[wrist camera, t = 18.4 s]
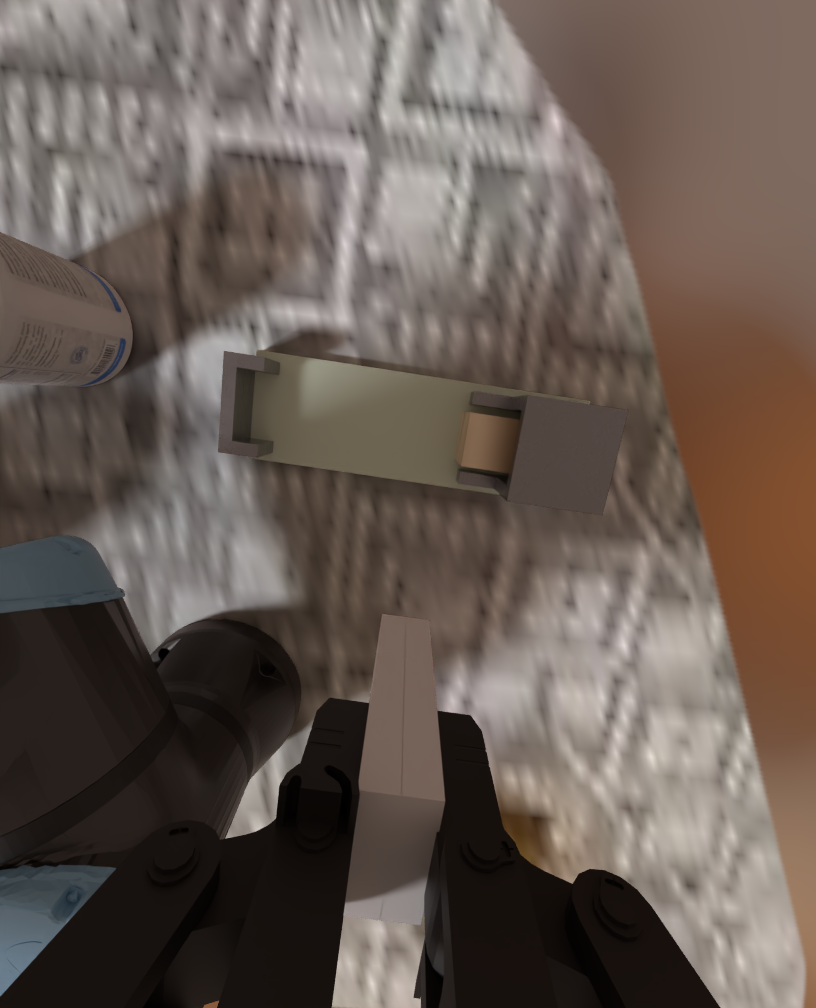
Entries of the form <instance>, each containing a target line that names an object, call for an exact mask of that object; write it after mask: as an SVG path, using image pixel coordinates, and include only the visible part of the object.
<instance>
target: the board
mask: <svg viewBox="0 0 816 1008" xmlns="http://www.w3.org/2000/svg"><path fill="white" fill-rule="evenodd" d="M256 356H260V357H265V358H268V359H271V360H274V361H277V362H279V363H280V372H279V375H274V374H268V373H261V372H255V382H254V395H253V409H252V423H251V437H250V438H255V439H262V440H269V441H274V444H273V453H271V454H267V455H264V456H261V457H258V458H255V457H249V458H253V459H259V460H266V461H273V462H280V463H286V464H293V465H300V466H307V467H314V468H320V469H327V470H334V471H341V472H347V473H354V474H361V475H368V476H375V477H381V478H388V479H395V480H402V481H409V482H415V483H422V484H429V485H436V486H442V487H449V488H456V489H463V490H470V491H476V492H483V493H490V494H497V495H500V494H499V493H498V492H497V491H496V490H495V489H491V488H484V487H478V486H471V485H464V484H458V482H457V481H456V477H457V471H458V469H464V470H471V471H478V472H484V473H491V474H498V475H504V476H509V473H504V472H498V471H491V470H484V469H477V468H470V467H464V466H461V465H460V464H459V463H458V462H457V461H456V460H455V454H456V448H457V442H458V436H459V430H460V424H461V418H462V412H471V413H478V414H485V415H491V416H498V417H505V418H511V419H518V420H520V415H521V412H517V411H511V410H504V409H497V408H491V407H484V406H478V405H471V404H469V401H470V396H471V392H473V391H477V392H484V393H490V394H497V395H503V396H510V397H514V396H522V395H533V396H539V397H546V398H553V399H559V400H566V401H572V402H579V403H585V404H590V401H588V400H581V399H575V398H568V397H562V396H555V395H549V394H542V393H536V392H529V391H523V390H516V389H510V388H503V387H497V386H490V385H484V384H477V383H471V382H464V381H457V380H451V379H444V378H438V377H431V376H425V375H418V374H412V373H405V372H399V371H392V370H386V369H379V368H373V367H366V366H360V365H353V364H347V363H340V362H334V361H327V360H321V359H314V358H308V357H301V356H295V355H288V354H282V353H275V352H269V351H262V350H257V354H256Z"/></svg>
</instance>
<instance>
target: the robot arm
mask: <svg viewBox="0 0 816 1008" xmlns="http://www.w3.org/2000/svg"><path fill="white" fill-rule="evenodd" d="M124 596H125V593H124V590H123V589H121V588H118V587H117V585H116V584H115V582H114V580H113V578H112V576H111V574H110V573H109V571H108V569H107V567H106V565H105V563H104V562H103V560H102V558H101V556H100V554H99V552H98V551H97V550H96V548H95V547H94V546H93V545H92V544H91V543H89V542H88V541H86V540H84V539H82V538H79V537H75V536H69V535H59V536H52V537H47V538H42V539H38V540H33V541H29V542H24V543H19V544H15V545H10V546H6V547H1V548H0V1008H203V1007H204V1005H206V1004H209V1003H212V1002H215V1001H218V1000H219V1003H218V1006H217V1008H331V1007H332V1000H333V992H334V984H335V977H336V969H337V961H338V954H339V946H340V938H341V931H342V923H343V916H349V917H357V918H365V919H373V920H381V921H390V922H398V923H406V924H414V925H421V921H422V916H423V911H424V912H425V940H424V945H423V950H422V955H421V960H420V965H419V970H418V974H417V979H416V986H415V992H414V998H419V999H420V997H421V1008H720V1007H719V1005H718V1004H717V1002H716V1001H715V999H714V998H713V996H712V995H711V993H710V992H709V990H708V989H707V987H706V986H705V985H704V983H703V982H702V980H701V979H700V977H699V976H698V974H697V973H696V971H695V970H694V968H693V967H692V965H691V964H690V962H689V961H688V960H687V958H686V957H685V955H684V954H683V952H682V951H681V949H680V948H679V946H678V945H677V943H676V942H675V940H674V939H673V937H672V936H671V935H670V933H669V932H668V930H667V929H666V927H665V926H664V924H663V923H662V921H661V920H660V918H659V917H658V915H657V914H656V912H655V911H654V910H653V908H652V907H651V905H650V904H649V903H648V902H647V901H646V900H645V898H644V897H643V896H642V895H641V894H640V892H639V891H638V890H637V889H635V888H634V887H633V886H632V885H630V884H629V883H628V882H626V881H625V880H624V879H622V878H621V877H619V876H617V875H614V874H612V873H610V872H607V871H605V870H595V869H589V870H587V871H584V872H582V873H580V874H578V876H577V878H576V879H575V881H574V883H573V884H571V883H569V882H567V881H565V880H563V879H560V878H558V877H556V876H554V875H552V874H549V873H547V872H545V871H543V870H541V869H540V868H538V867H536V866H534V865H533V864H531V863H530V862H529V861H527V860H526V859H525V858H524V857H523V856H521V855H520V853H519V851H518V848H517V846H516V844H515V842H514V841H513V839H512V838H511V837H510V836H509V835H508V834H507V832H506V831H505V830H504V828H503V825H502V820H501V816H500V811H499V807H498V802H497V798H496V793H495V789H494V784H493V780H492V775H491V771H490V767H489V762H488V757H487V752H486V751H485V750H486V748H485V743H484V739H483V734H482V731H481V729H480V728H479V727H478V725H477V724H476V722H475V721H474V720H473V718H472V717H471V716H470V715H465V714H457V713H450V712H442V711H437V702H436V691H435V679H434V668H433V657H432V645H431V634H430V623H429V620H424V619H417V618H409V617H402V616H395V615H388V614H382V618H381V625H380V632H379V638H378V645H377V652H376V659H375V666H374V673H373V679H372V686H371V693H370V700H369V703H364V702H357V701H349V700H342V699H334V698H329V699H328V700H327V701H326V702H325V703H324V704H323V705H322V706H321V707H320V708H319V709H318V710H317V712H316V715H315V719H314V722H313V725H312V729H311V732H310V735H309V738H308V741H307V745H306V748H305V751H304V754H303V757H302V761H301V763H300V764H298V765H297V766H295V767H294V768H293V769H291V770H290V771H289V772H288V773H287V774H286V775H285V777H284V779H283V780H282V782H281V784H280V786H279V796H278V806H277V815H276V819H275V820H274V821H273V822H272V823H270V824H269V825H268V826H266V827H264V828H262V829H260V830H258V831H256V832H253V833H250V834H246V835H242V836H237V837H232V838H227V839H225V837H226V835H227V833H228V830H229V828H230V825H231V823H232V820H233V818H234V816H235V813H236V811H237V808H238V806H239V804H240V801H241V799H242V796H243V794H244V791H245V789H246V787H247V784H248V782H249V780H250V779H251V777H252V776H253V775H254V774H255V773H256V772H257V771H258V770H259V769H260V768H261V767H262V766H263V765H264V764H265V763H266V762H267V761H268V760H269V759H270V757H271V756H272V755H273V754H274V753H275V752H276V751H277V750H278V749H279V748H280V747H281V746H282V744H283V743H284V741H285V740H286V738H287V737H288V735H289V733H290V731H291V729H292V727H293V724H294V721H295V719H296V716H297V713H298V710H299V706H300V701H301V687H300V681H299V677H298V673H297V671H296V668H295V666H294V664H293V662H292V660H291V659H290V657H289V656H288V654H287V653H286V652H285V650H284V649H283V648H282V647H281V646H280V645H279V644H278V643H277V642H276V641H275V640H273V639H272V638H271V637H270V636H268V635H267V634H265V633H264V632H262V631H260V630H258V629H256V628H254V627H252V626H249V625H247V624H243V623H240V622H236V621H230V620H206V621H200V622H196V623H193V624H190V625H188V626H185V627H183V628H181V629H179V630H178V631H176V632H175V633H173V634H172V635H171V636H169V637H168V638H167V639H166V640H165V641H164V642H163V643H162V644H161V645H160V646H159V647H158V648H157V649H156V650H155V651H154V652H153V653H152V654H151V655H150V654H149V652H148V650H147V648H146V646H145V644H144V642H143V639H142V637H141V635H140V633H139V631H138V629H137V627H136V625H135V622H134V620H133V618H132V616H131V614H130V612H129V610H128V608H127V606H126V603H125V601H124V599H123V597H124Z"/></svg>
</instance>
